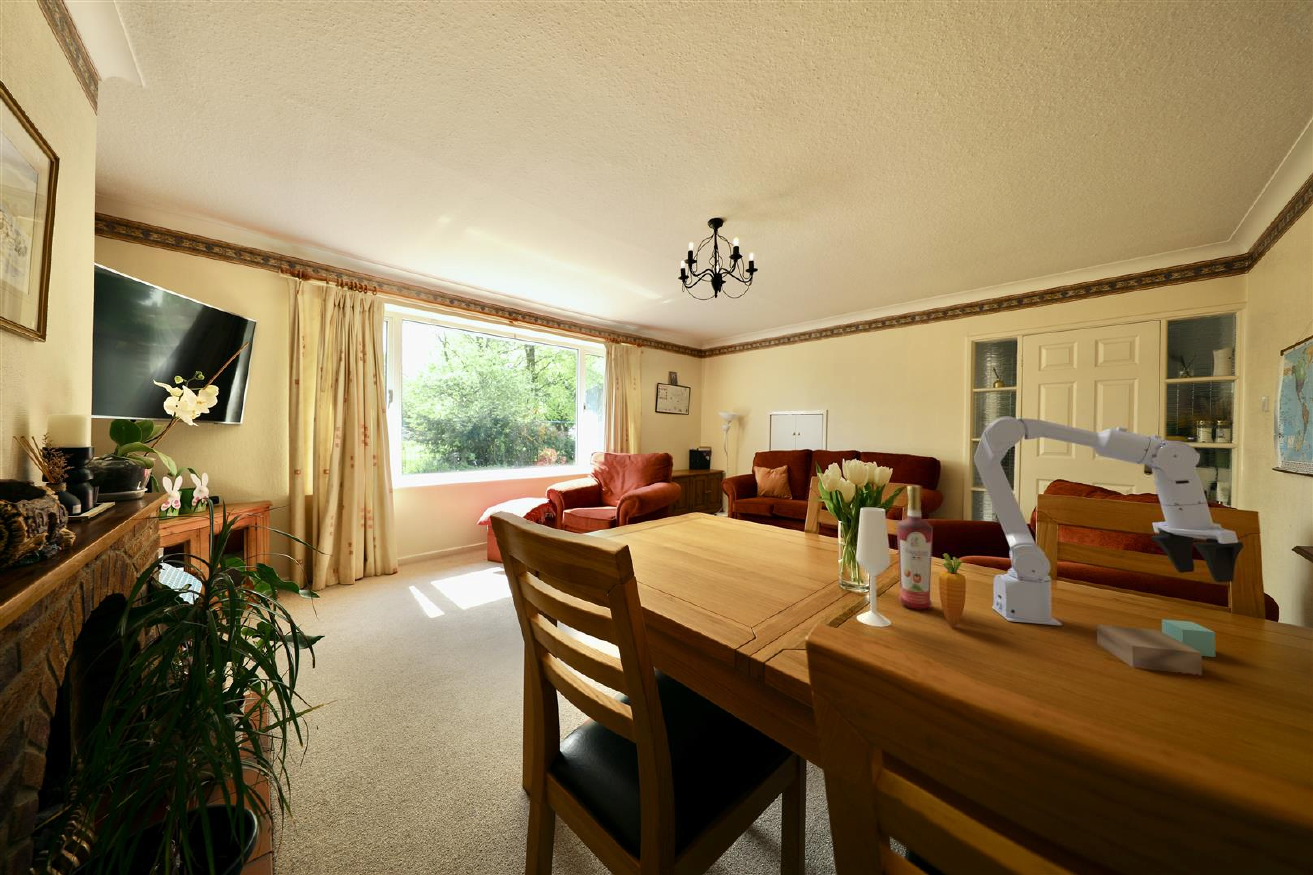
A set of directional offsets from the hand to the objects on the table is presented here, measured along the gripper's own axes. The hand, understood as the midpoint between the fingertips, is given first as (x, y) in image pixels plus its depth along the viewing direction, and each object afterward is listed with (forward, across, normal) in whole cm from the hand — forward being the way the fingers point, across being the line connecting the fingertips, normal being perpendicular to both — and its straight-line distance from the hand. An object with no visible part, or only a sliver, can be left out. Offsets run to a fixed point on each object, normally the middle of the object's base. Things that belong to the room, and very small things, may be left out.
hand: (1204, 576), depth 82 cm
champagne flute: (+4, 0, +58) cm, 58 cm away
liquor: (+5, +11, +47) cm, 48 cm away
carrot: (+6, 0, +43) cm, 43 cm away
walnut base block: (+12, -6, +16) cm, 20 cm away
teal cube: (+13, 0, +6) cm, 14 cm away
